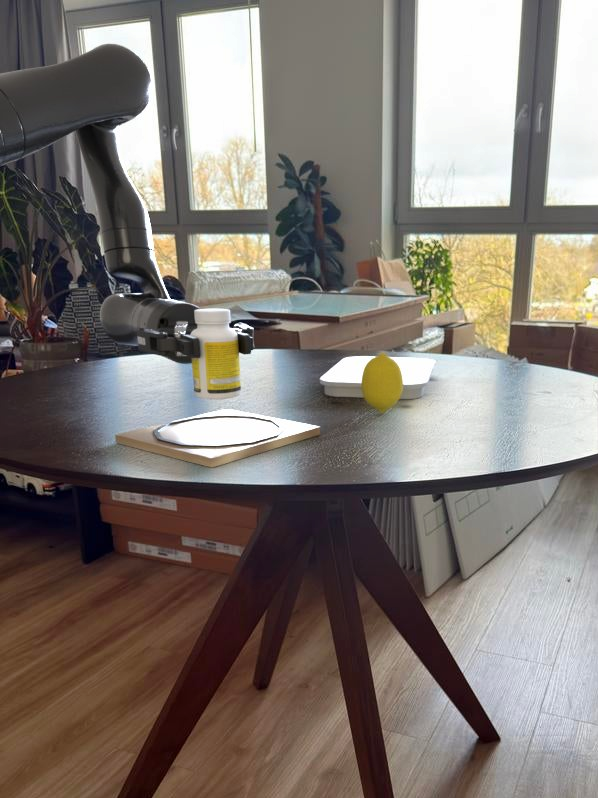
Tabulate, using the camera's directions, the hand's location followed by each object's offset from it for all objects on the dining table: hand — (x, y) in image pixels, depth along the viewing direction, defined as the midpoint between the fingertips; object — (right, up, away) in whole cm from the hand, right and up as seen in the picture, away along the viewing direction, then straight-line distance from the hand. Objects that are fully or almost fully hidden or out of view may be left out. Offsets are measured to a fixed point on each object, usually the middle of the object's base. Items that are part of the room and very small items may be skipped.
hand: (223, 346), depth 81 cm
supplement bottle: (-1, -5, +4) cm, 7 cm away
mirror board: (-1, -10, +3) cm, 11 cm away
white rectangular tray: (+18, +2, +37) cm, 41 cm away
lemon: (+18, -5, +17) cm, 25 cm away
